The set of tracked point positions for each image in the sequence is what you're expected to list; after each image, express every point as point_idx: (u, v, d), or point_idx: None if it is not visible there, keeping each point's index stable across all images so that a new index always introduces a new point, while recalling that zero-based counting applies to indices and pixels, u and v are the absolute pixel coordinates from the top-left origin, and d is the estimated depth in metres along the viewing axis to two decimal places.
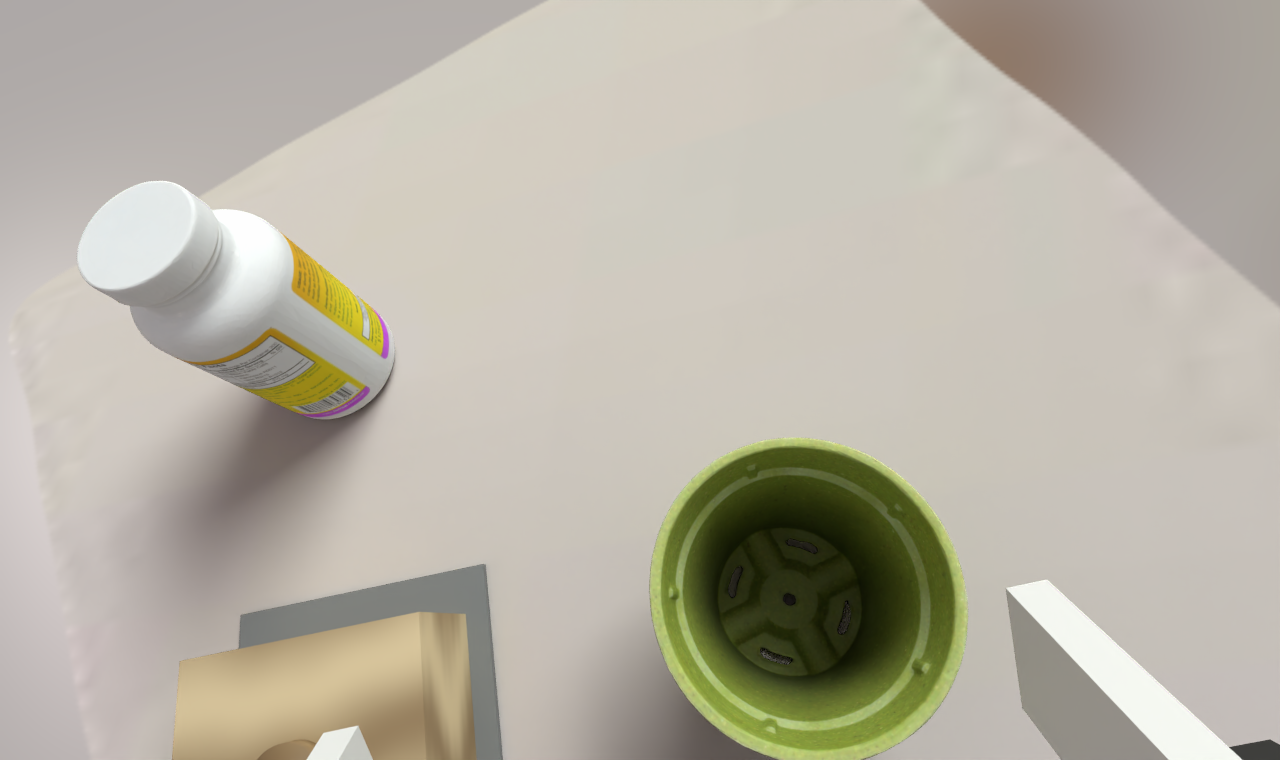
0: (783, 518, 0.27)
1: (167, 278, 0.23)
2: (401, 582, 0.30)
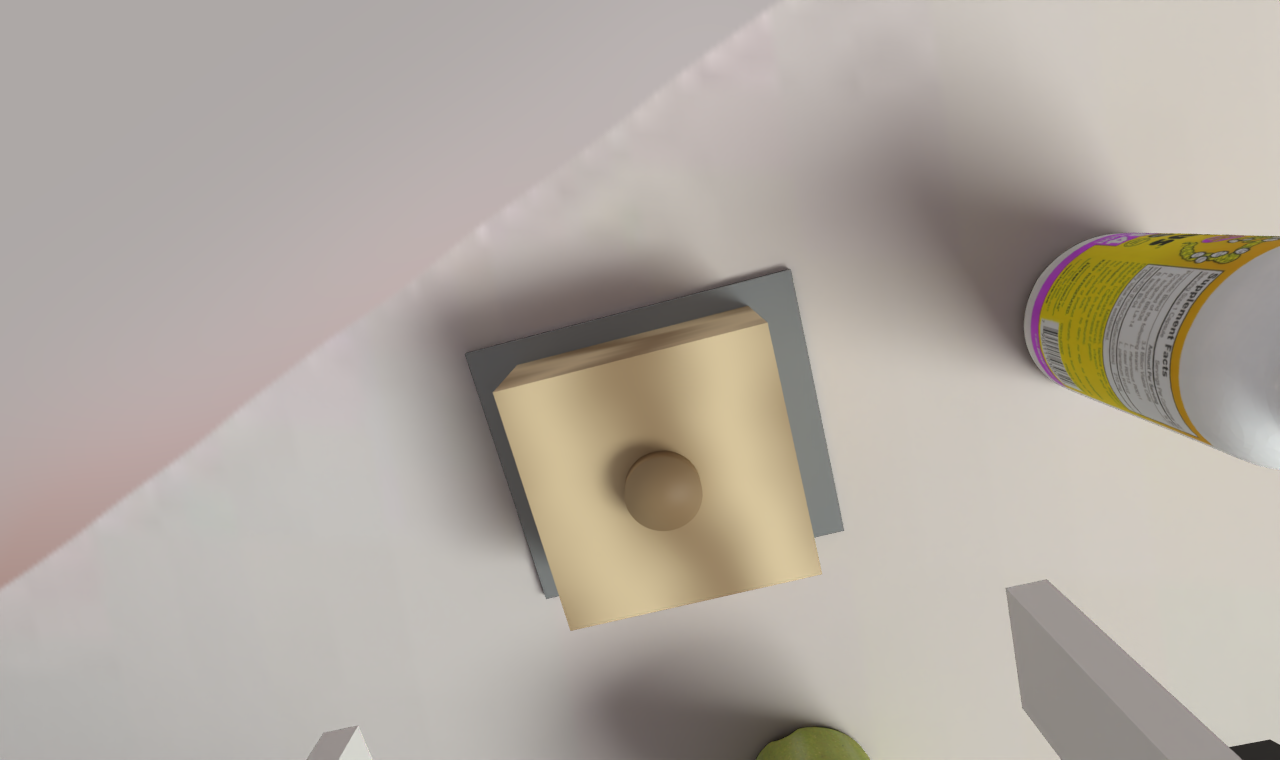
0: None
1: None
2: (826, 450, 0.28)
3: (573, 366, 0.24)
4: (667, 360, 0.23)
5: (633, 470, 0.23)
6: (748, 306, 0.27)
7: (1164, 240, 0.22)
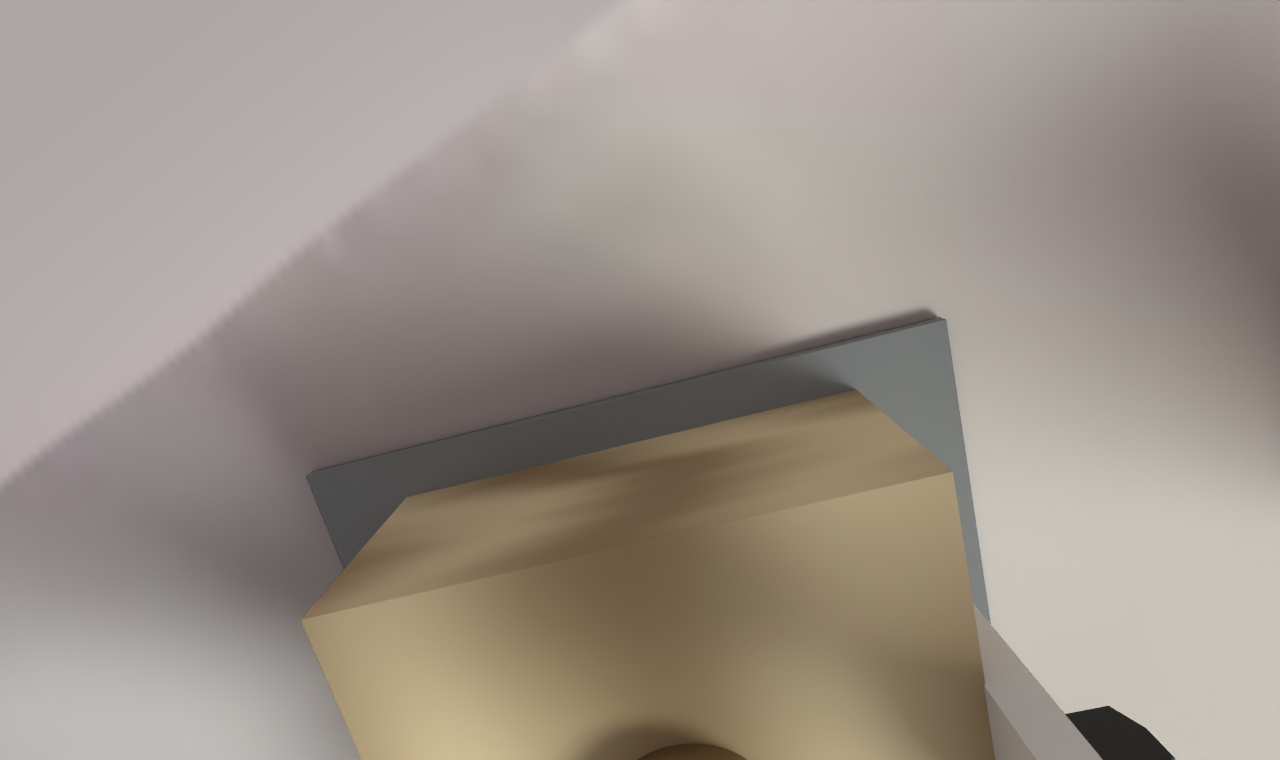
0: None
1: None
2: None
3: (493, 547, 0.11)
4: (705, 554, 0.10)
5: None
6: (858, 392, 0.13)
7: None
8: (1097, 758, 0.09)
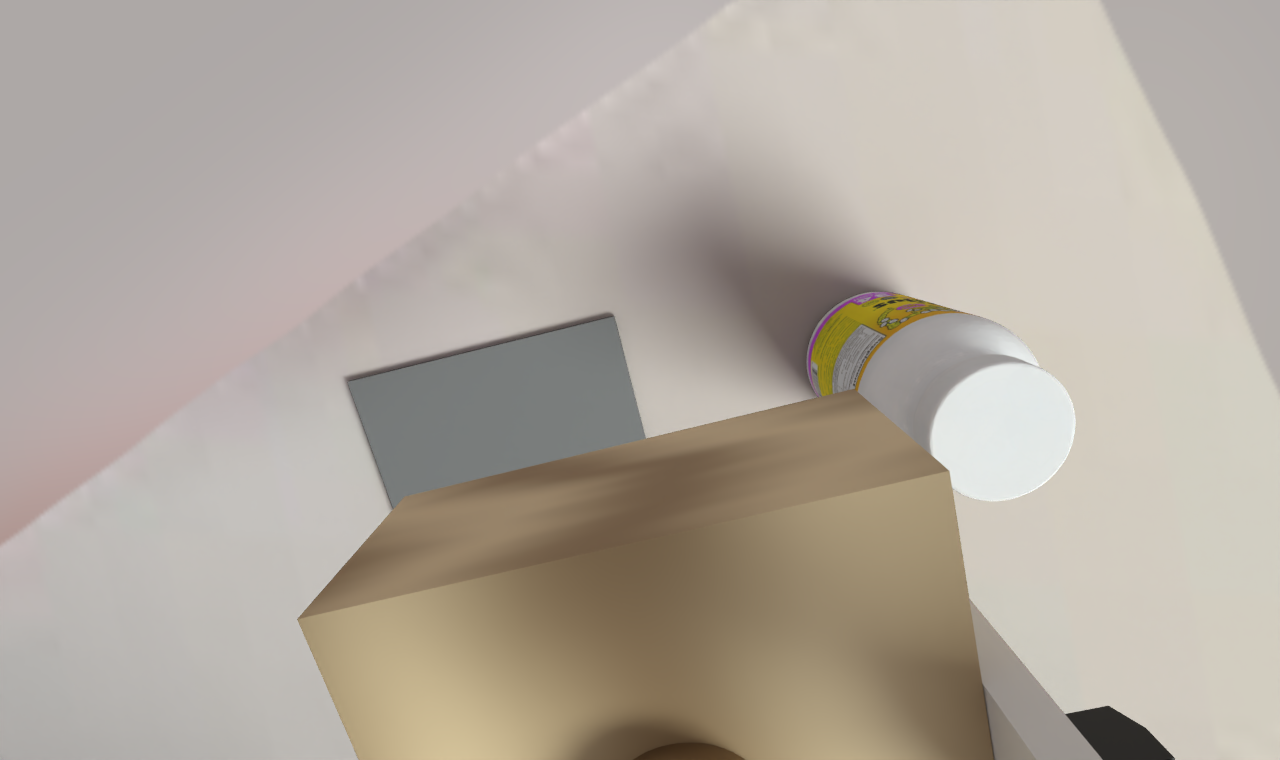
0: None
1: None
2: None
3: (490, 546, 0.11)
4: (702, 552, 0.10)
5: None
6: (856, 391, 0.13)
7: (882, 304, 0.28)
8: (1097, 758, 0.09)
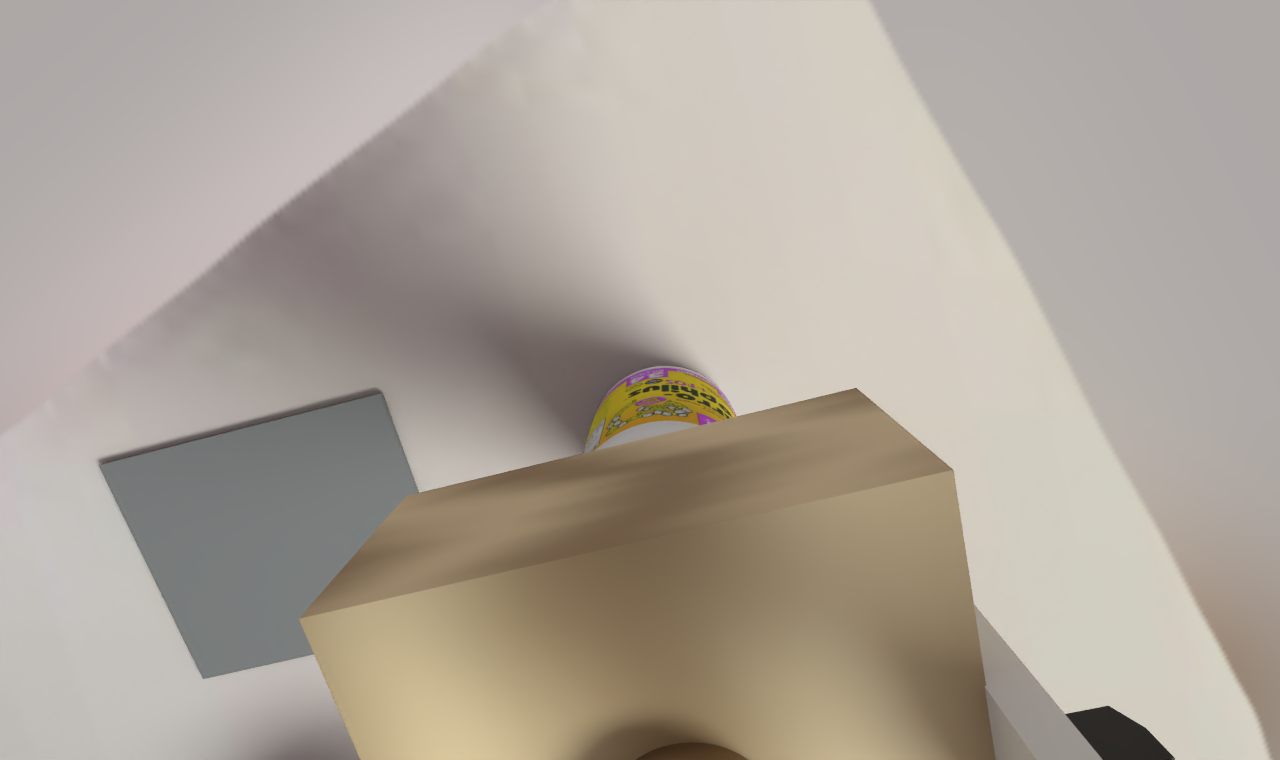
0: None
1: None
2: None
3: (492, 545, 0.11)
4: (705, 552, 0.10)
5: None
6: (858, 391, 0.13)
7: (637, 391, 0.25)
8: (1097, 758, 0.09)
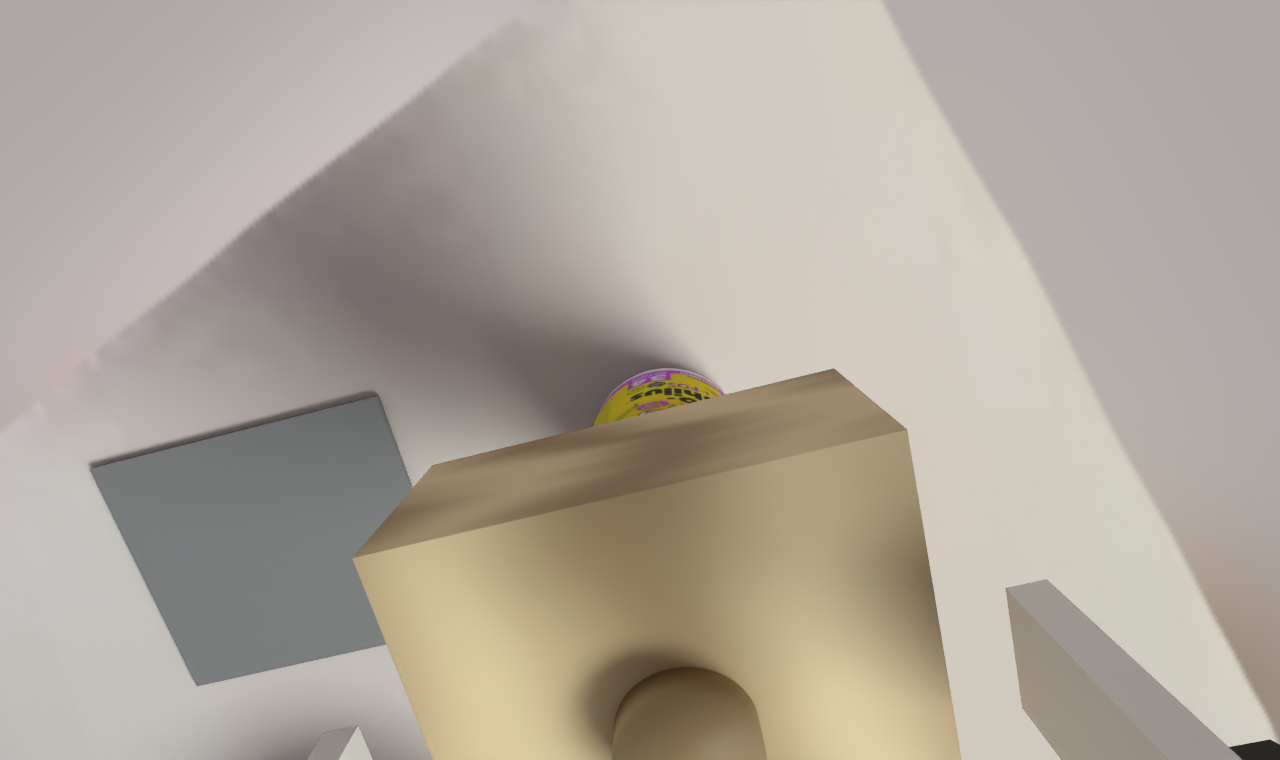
0: None
1: None
2: None
3: (515, 499, 0.12)
4: (698, 500, 0.11)
5: (630, 715, 0.12)
6: (835, 371, 0.15)
7: (639, 395, 0.24)
8: None
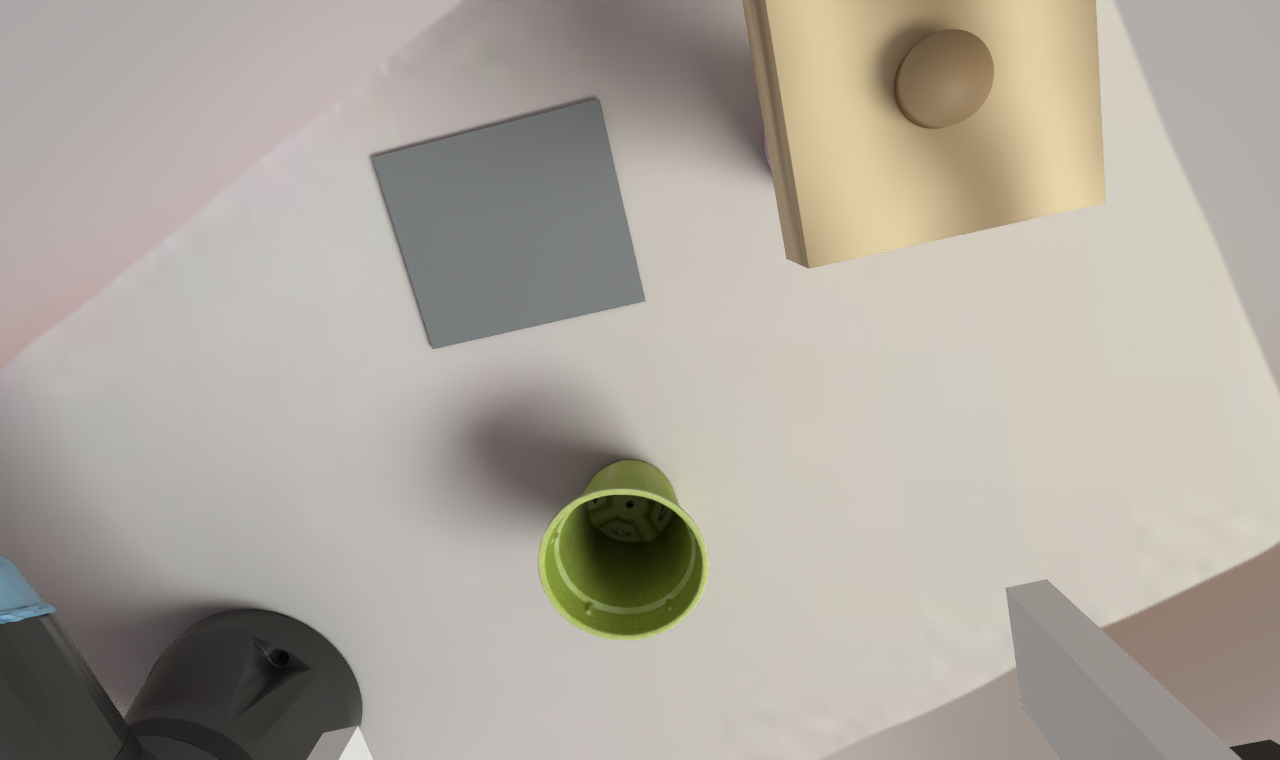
0: None
1: None
2: (629, 237, 0.40)
3: None
4: None
5: (915, 47, 0.20)
6: None
7: None
8: None
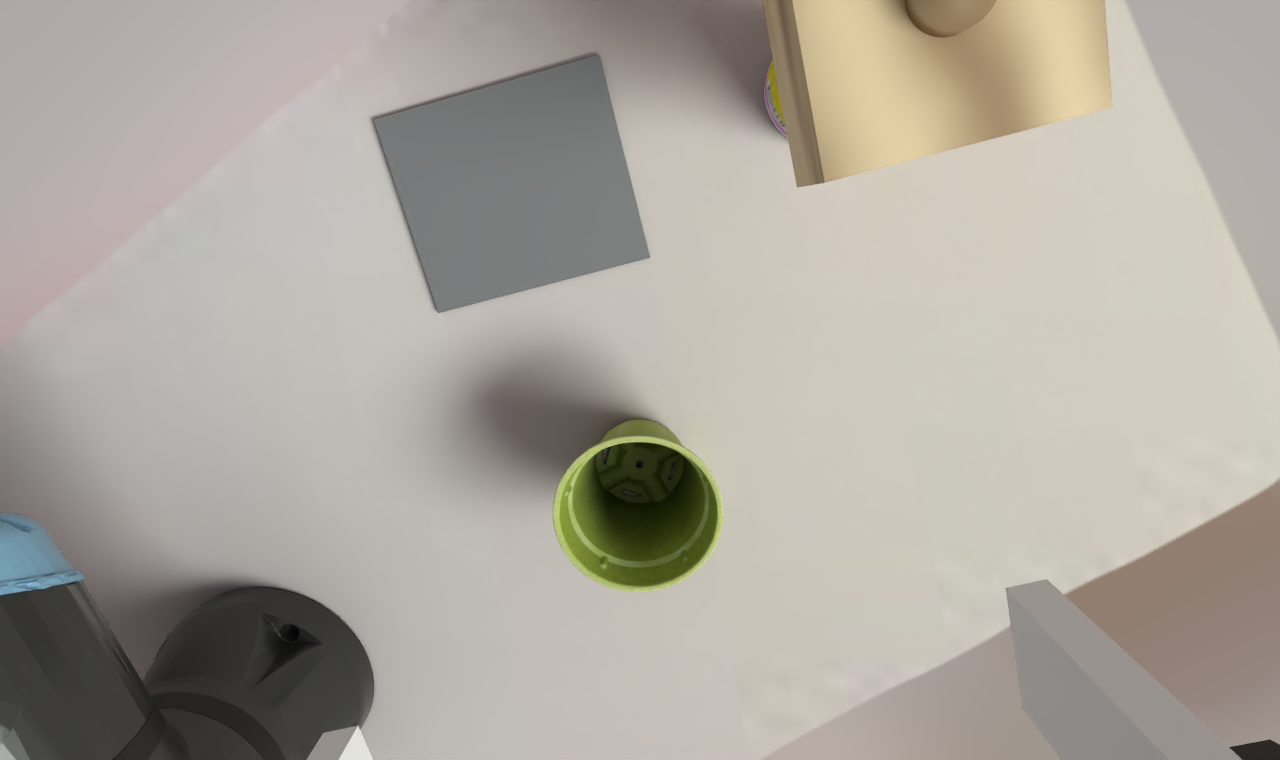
0: (687, 467, 0.43)
1: None
2: (632, 194, 0.40)
3: None
4: None
5: None
6: None
7: None
8: None
